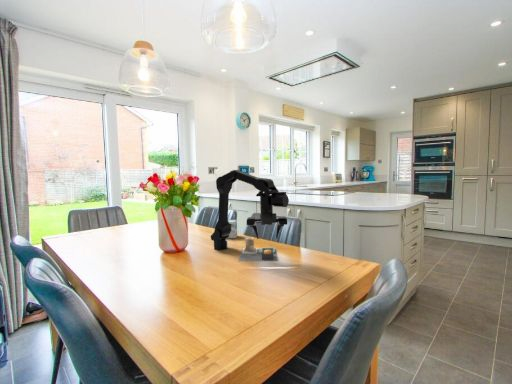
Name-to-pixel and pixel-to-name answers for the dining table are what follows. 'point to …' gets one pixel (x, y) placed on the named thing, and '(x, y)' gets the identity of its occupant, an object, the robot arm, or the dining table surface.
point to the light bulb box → (233, 228)
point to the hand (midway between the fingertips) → (267, 238)
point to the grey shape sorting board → (258, 255)
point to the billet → (249, 244)
